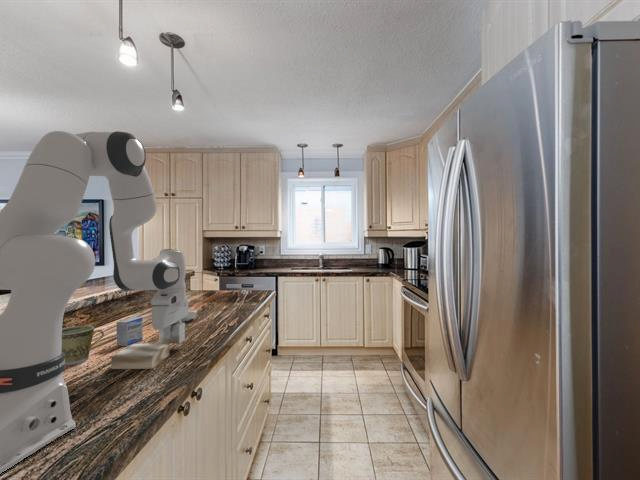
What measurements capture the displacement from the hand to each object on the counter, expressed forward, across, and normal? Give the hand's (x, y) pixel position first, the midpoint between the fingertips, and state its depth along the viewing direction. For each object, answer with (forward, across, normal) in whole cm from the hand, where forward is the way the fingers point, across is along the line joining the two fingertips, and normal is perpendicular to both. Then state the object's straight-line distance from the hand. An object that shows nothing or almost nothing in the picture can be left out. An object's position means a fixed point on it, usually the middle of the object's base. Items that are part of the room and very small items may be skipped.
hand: (172, 335), depth 111 cm
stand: (+5, +12, -4) cm, 13 cm away
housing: (+2, 0, 0) cm, 2 cm away
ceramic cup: (+5, +11, -24) cm, 27 cm away
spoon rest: (+5, -35, -12) cm, 37 cm away
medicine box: (+5, -7, -19) cm, 21 cm away
